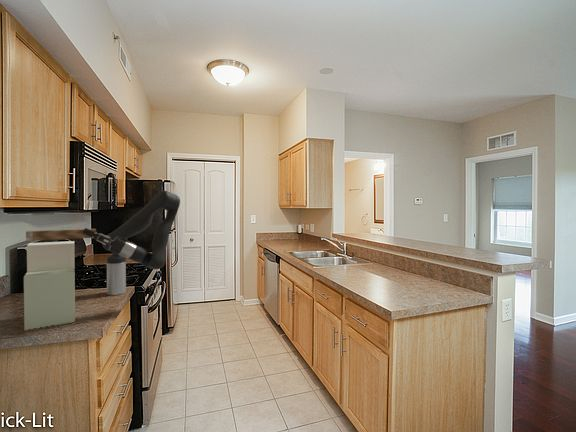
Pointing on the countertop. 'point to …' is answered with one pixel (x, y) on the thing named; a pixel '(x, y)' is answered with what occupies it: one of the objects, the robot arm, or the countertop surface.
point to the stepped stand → (49, 284)
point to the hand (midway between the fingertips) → (84, 230)
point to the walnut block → (56, 234)
